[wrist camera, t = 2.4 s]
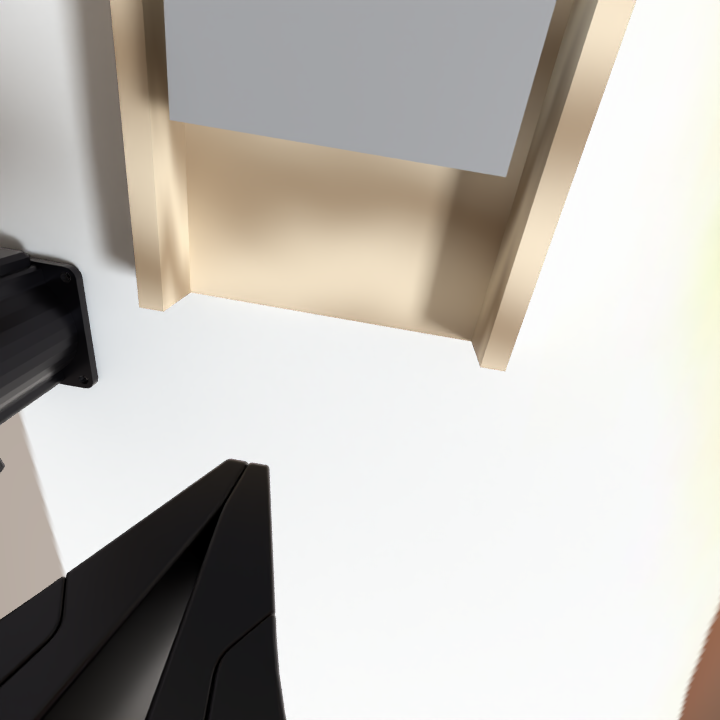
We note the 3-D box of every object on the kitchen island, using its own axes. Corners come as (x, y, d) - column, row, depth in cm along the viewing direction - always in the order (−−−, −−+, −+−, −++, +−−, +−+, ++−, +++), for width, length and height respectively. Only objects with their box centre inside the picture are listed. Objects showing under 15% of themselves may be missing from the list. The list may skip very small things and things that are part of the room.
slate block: (482, 169, 16) (506, 177, 12) (221, 124, 16) (169, 119, 13) (537, -40, 13) (587, -107, 10) (220, -92, 13) (154, -177, 10)
